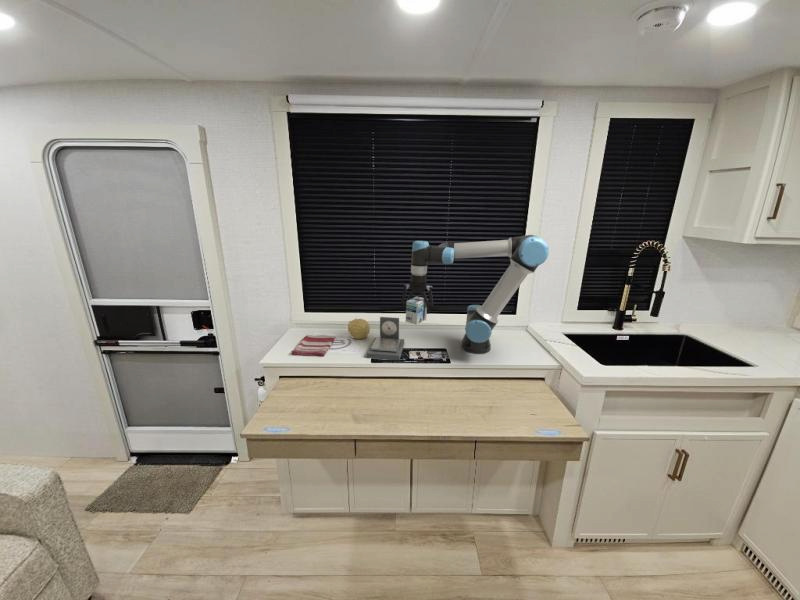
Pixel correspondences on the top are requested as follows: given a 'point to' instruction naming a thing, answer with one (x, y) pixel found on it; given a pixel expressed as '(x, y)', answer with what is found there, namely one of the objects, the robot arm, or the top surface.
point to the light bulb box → (415, 310)
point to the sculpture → (359, 328)
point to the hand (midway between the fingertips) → (416, 318)
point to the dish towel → (314, 346)
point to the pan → (386, 344)
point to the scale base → (390, 331)
